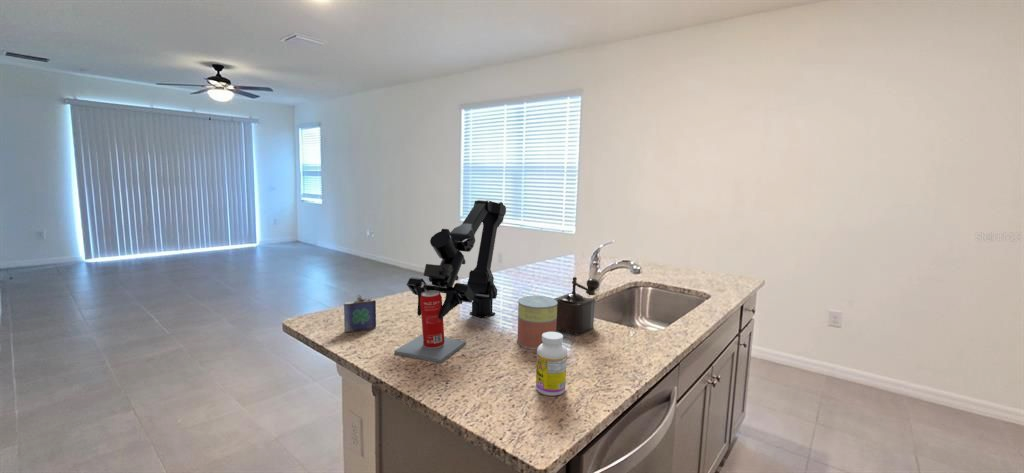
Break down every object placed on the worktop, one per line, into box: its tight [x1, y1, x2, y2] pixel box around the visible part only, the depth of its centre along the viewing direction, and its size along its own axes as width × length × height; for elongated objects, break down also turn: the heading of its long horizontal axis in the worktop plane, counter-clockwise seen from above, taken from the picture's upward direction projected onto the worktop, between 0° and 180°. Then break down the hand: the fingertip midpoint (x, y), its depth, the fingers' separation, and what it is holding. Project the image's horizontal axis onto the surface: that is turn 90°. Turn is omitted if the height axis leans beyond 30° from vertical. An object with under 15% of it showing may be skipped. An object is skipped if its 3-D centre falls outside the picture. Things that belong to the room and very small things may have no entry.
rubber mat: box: [394, 333, 467, 364], centre depth 122 cm, size 14×14×1 cm
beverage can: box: [420, 290, 445, 349], centre depth 121 cm, size 6×6×15 cm
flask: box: [343, 294, 377, 334], centre depth 134 cm, size 9×3×11 cm, turn 121°
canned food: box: [516, 295, 558, 350], centre depth 128 cm, size 11×11×12 cm
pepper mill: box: [554, 276, 600, 336], centre depth 138 cm, size 16×11×18 cm
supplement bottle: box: [535, 331, 568, 397], centre depth 99 cm, size 7×7×13 cm
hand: (428, 316), depth 119 cm, fingers open, 6 cm apart
